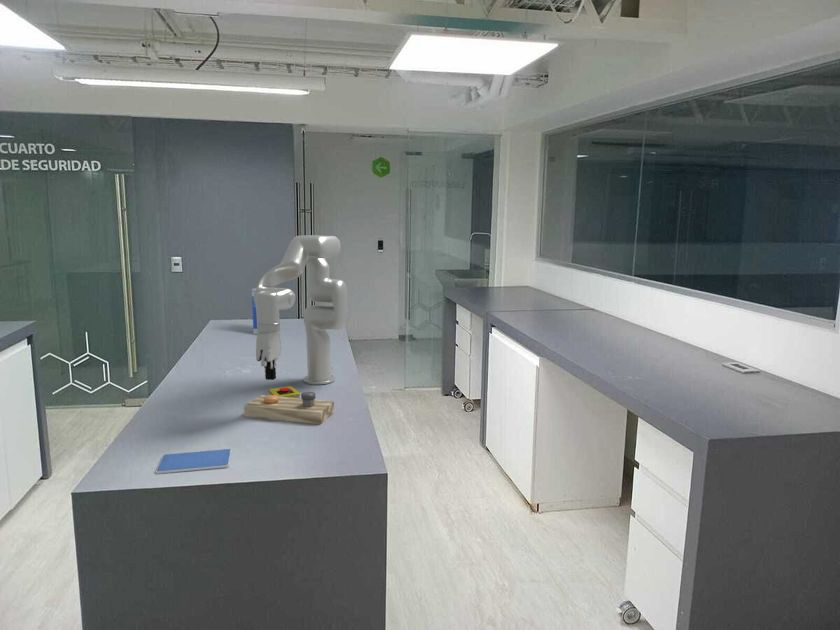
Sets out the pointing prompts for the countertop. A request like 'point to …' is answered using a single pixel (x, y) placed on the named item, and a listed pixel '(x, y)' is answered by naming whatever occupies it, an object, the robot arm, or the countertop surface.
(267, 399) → the orange knob
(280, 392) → the emergency button
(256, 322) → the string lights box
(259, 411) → the control block
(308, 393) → the gray knob
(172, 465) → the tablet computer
